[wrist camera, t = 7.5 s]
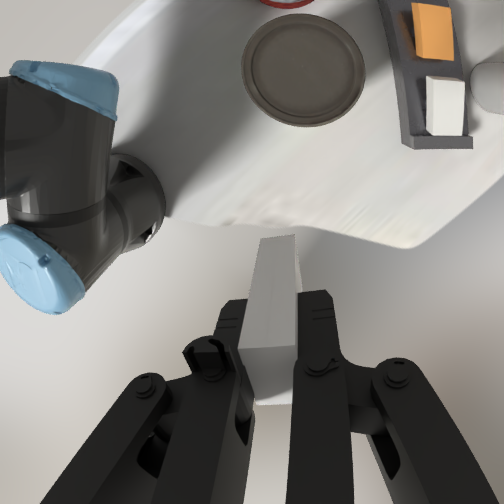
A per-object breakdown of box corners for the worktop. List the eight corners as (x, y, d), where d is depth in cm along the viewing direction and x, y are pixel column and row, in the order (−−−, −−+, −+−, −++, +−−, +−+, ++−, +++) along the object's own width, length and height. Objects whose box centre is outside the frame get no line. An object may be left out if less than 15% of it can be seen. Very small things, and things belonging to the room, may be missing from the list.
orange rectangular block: (445, 57, 26) (453, 60, 24) (416, 54, 27) (423, 57, 25) (442, 6, 21) (450, 8, 20) (410, 2, 22) (418, 3, 20)
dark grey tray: (456, 142, 34) (472, 148, 30) (401, 143, 35) (414, 149, 31) (418, -47, 20) (430, -58, 16) (360, -54, 22) (367, -68, 18)
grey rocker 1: (454, 129, 30) (461, 135, 28) (425, 129, 31) (432, 135, 29) (456, 77, 25) (464, 82, 24) (425, 75, 26) (433, 79, 25)
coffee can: (246, 98, 36) (222, 98, 23) (278, 30, 31) (270, -4, 18) (319, 131, 37) (334, 148, 24) (353, 64, 32) (384, 48, 19)
